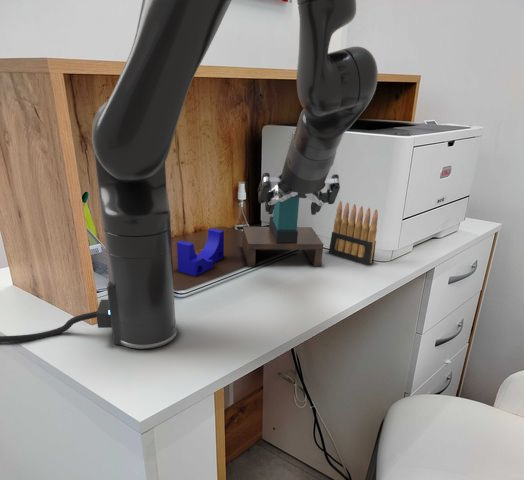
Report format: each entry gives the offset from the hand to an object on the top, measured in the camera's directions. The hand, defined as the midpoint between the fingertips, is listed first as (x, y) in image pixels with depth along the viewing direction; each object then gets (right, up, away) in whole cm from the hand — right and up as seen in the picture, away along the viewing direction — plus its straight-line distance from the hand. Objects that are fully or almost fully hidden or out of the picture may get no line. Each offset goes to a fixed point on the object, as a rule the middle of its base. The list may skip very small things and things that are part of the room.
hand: (291, 210), depth 96 cm
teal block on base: (-1, -2, +12) cm, 12 cm away
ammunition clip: (+14, -7, +16) cm, 22 cm away
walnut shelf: (-2, -6, +15) cm, 16 cm away
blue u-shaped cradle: (-18, -9, +8) cm, 22 cm away
